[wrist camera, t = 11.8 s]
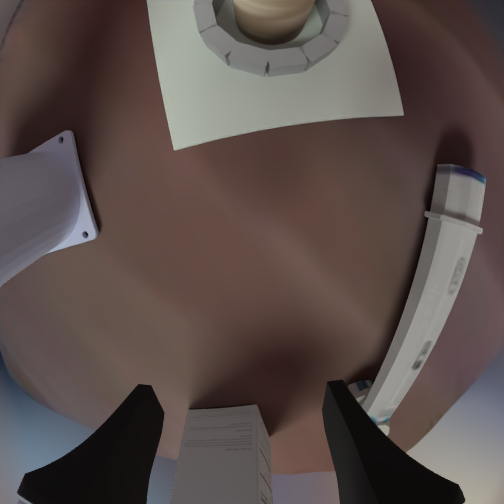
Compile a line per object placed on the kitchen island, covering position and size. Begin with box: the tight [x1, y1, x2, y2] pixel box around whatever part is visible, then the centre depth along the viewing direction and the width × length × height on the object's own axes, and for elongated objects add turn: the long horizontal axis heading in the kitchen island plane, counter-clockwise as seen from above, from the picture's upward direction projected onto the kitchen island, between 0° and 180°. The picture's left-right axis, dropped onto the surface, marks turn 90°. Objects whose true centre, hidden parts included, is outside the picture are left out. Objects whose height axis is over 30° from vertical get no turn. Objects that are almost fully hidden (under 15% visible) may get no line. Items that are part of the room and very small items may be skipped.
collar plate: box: [147, 0, 404, 150], centre depth 11 cm, size 14×14×3 cm
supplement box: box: [170, 404, 273, 504], centre depth 19 cm, size 7×7×13 cm
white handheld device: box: [348, 164, 486, 436], centre depth 18 cm, size 5×7×25 cm
